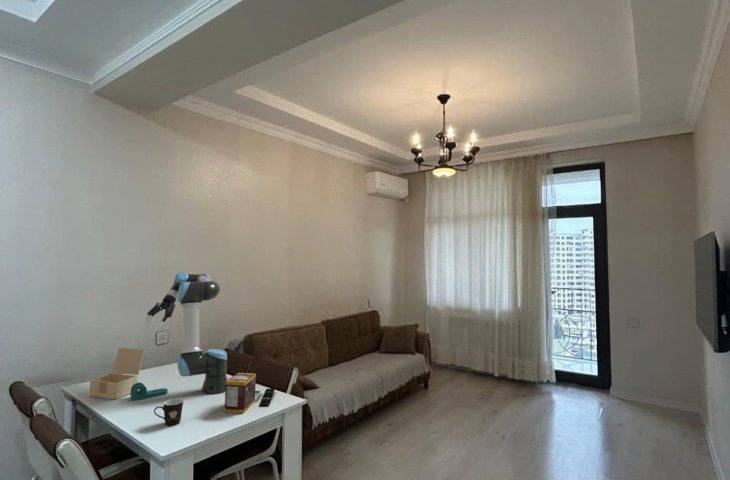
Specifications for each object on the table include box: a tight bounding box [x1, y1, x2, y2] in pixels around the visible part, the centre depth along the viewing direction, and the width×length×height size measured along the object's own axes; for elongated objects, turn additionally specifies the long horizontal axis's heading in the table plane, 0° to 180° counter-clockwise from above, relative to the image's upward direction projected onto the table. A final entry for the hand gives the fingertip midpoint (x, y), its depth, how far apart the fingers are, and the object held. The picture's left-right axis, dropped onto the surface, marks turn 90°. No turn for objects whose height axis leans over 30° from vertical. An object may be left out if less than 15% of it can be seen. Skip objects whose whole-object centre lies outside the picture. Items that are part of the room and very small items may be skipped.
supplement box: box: [224, 372, 257, 414], centre depth 203 cm, size 10×15×16 cm
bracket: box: [129, 381, 169, 402], centre depth 217 cm, size 18×7×8 cm, turn 129°
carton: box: [89, 372, 138, 401], centre depth 219 cm, size 14×18×9 cm
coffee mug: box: [153, 398, 184, 427], centre depth 182 cm, size 12×9×10 cm
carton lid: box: [112, 347, 145, 376], centre depth 229 cm, size 14×18×1 cm
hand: (152, 324), depth 247 cm, fingers open, 10 cm apart
